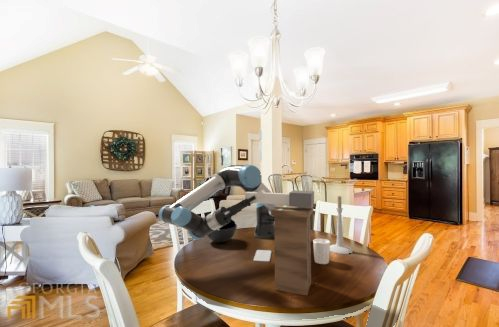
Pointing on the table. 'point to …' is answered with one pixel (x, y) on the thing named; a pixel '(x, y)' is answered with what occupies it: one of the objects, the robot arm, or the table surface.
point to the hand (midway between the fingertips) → (263, 192)
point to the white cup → (321, 251)
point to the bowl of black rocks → (224, 232)
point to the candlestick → (340, 235)
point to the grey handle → (286, 198)
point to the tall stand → (292, 248)
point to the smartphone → (262, 256)
